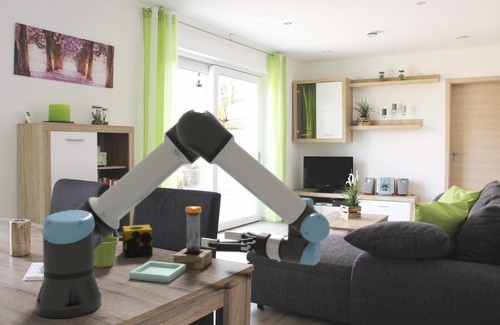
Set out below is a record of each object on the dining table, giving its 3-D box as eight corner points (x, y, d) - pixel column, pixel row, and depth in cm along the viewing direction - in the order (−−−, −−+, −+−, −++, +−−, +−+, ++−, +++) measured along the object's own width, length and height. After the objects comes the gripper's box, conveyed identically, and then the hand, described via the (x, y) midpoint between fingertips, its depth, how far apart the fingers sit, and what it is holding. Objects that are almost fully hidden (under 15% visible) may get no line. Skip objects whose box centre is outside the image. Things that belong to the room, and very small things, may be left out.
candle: (149, 249, 167) (149, 224, 167) (153, 256, 158) (153, 229, 158) (122, 251, 164) (122, 225, 163) (124, 258, 154) (124, 230, 154)
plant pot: (109, 270, 140) (109, 243, 139) (83, 268, 142) (83, 242, 141) (123, 262, 149) (123, 237, 148) (98, 260, 151) (98, 236, 150)
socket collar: (201, 269, 142) (201, 257, 142) (173, 266, 144) (173, 255, 144) (211, 261, 152) (211, 250, 151) (185, 259, 154) (185, 248, 154)
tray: (168, 282, 128) (168, 275, 128) (129, 278, 131) (129, 272, 131) (185, 270, 141) (185, 264, 140) (149, 267, 144) (149, 261, 144)
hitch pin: (197, 266, 145) (198, 209, 144) (182, 265, 146) (183, 208, 145) (203, 262, 150) (203, 206, 149) (188, 261, 151) (189, 206, 150)
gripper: (250, 268, 122) (190, 257, 133) (287, 250, 144) (233, 242, 155) (251, 242, 122) (191, 233, 133) (288, 227, 144) (233, 221, 154)
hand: (213, 238), depth 144 cm, fingers open, 13 cm apart
